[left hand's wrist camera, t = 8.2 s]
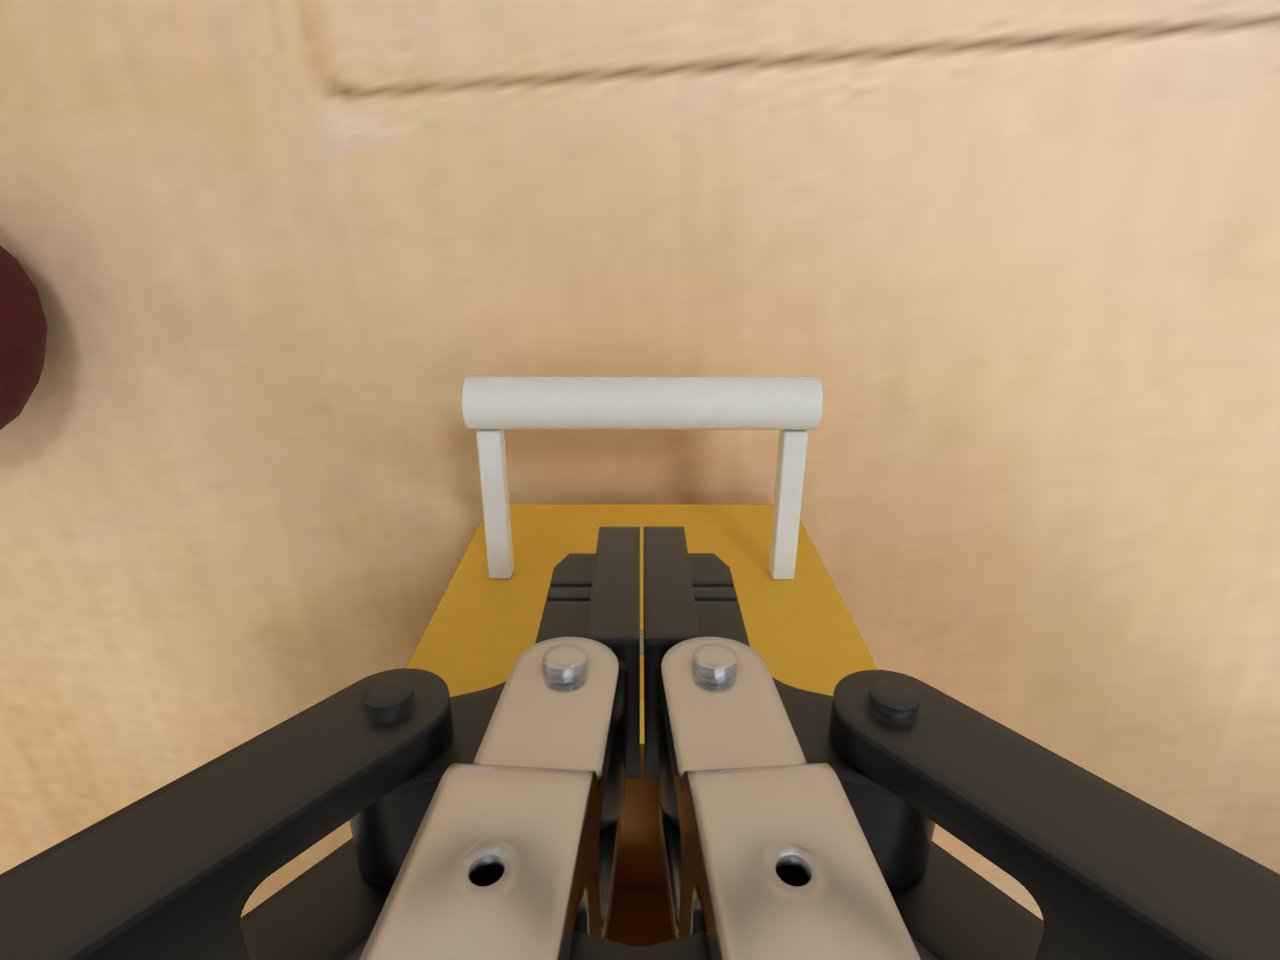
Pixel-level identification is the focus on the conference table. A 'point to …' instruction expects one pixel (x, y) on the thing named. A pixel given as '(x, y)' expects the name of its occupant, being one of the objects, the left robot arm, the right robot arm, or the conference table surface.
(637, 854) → the drawer
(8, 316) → the potato
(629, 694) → the left robot arm
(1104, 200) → the conference table surface
